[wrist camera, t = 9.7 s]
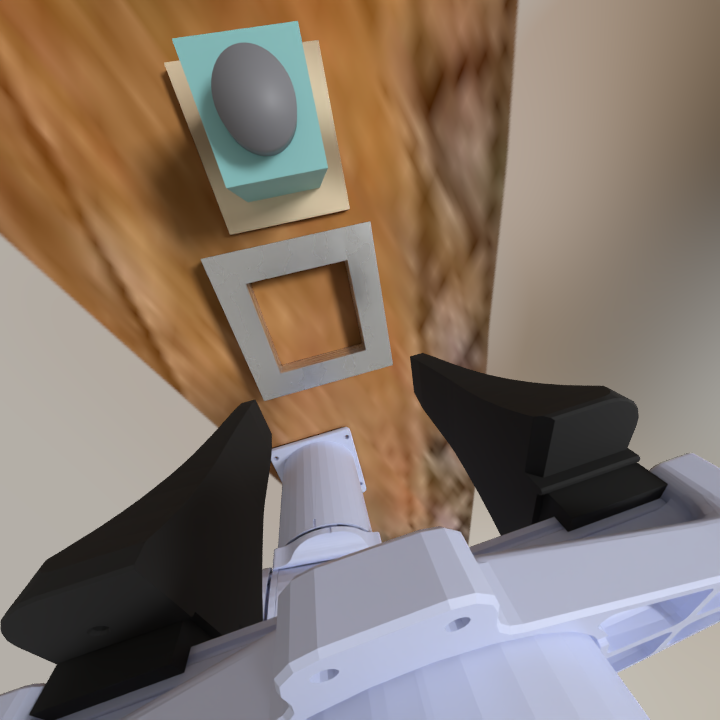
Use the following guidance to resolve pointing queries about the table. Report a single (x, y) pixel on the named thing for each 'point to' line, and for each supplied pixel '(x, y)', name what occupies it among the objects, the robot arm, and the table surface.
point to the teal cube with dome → (256, 108)
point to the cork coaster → (278, 208)
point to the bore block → (288, 257)
